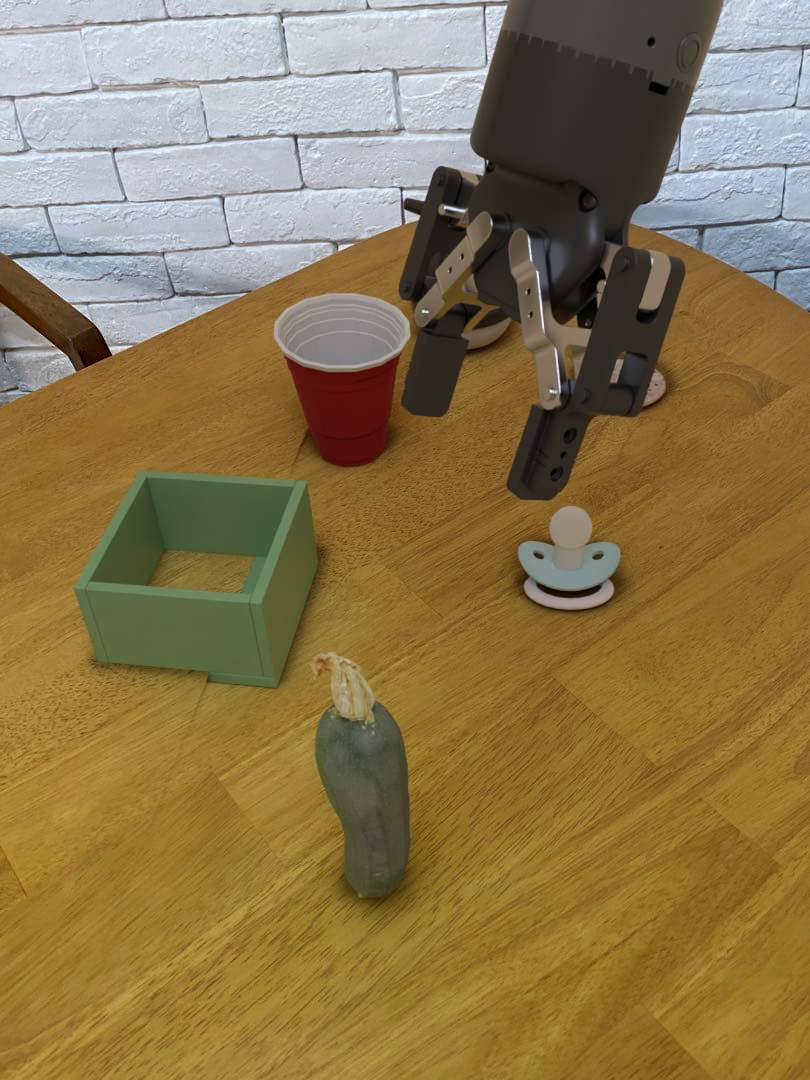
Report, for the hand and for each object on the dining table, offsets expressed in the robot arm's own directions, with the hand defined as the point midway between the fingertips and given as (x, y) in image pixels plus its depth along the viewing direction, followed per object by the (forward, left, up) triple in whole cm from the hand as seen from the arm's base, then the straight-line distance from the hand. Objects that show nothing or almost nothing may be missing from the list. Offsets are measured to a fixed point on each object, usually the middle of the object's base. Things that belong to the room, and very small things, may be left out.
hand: (472, 452), depth 48 cm
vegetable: (-5, -5, -28) cm, 29 cm away
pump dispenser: (-8, +56, -28) cm, 64 cm away
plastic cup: (-15, +37, -28) cm, 49 cm away
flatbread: (+7, +48, -28) cm, 56 cm away
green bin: (-21, +16, -28) cm, 39 cm away
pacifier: (+4, +22, -28) cm, 36 cm away
